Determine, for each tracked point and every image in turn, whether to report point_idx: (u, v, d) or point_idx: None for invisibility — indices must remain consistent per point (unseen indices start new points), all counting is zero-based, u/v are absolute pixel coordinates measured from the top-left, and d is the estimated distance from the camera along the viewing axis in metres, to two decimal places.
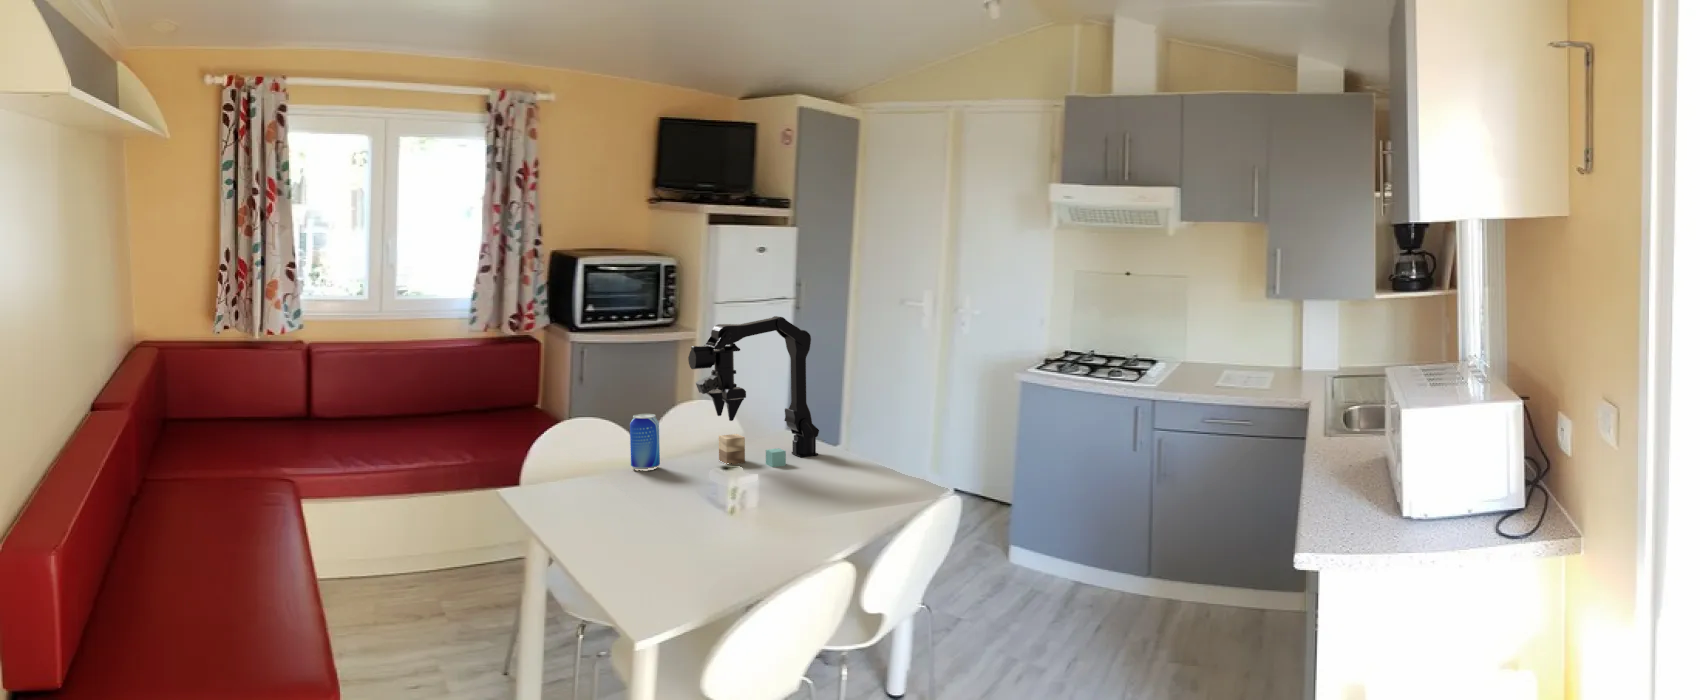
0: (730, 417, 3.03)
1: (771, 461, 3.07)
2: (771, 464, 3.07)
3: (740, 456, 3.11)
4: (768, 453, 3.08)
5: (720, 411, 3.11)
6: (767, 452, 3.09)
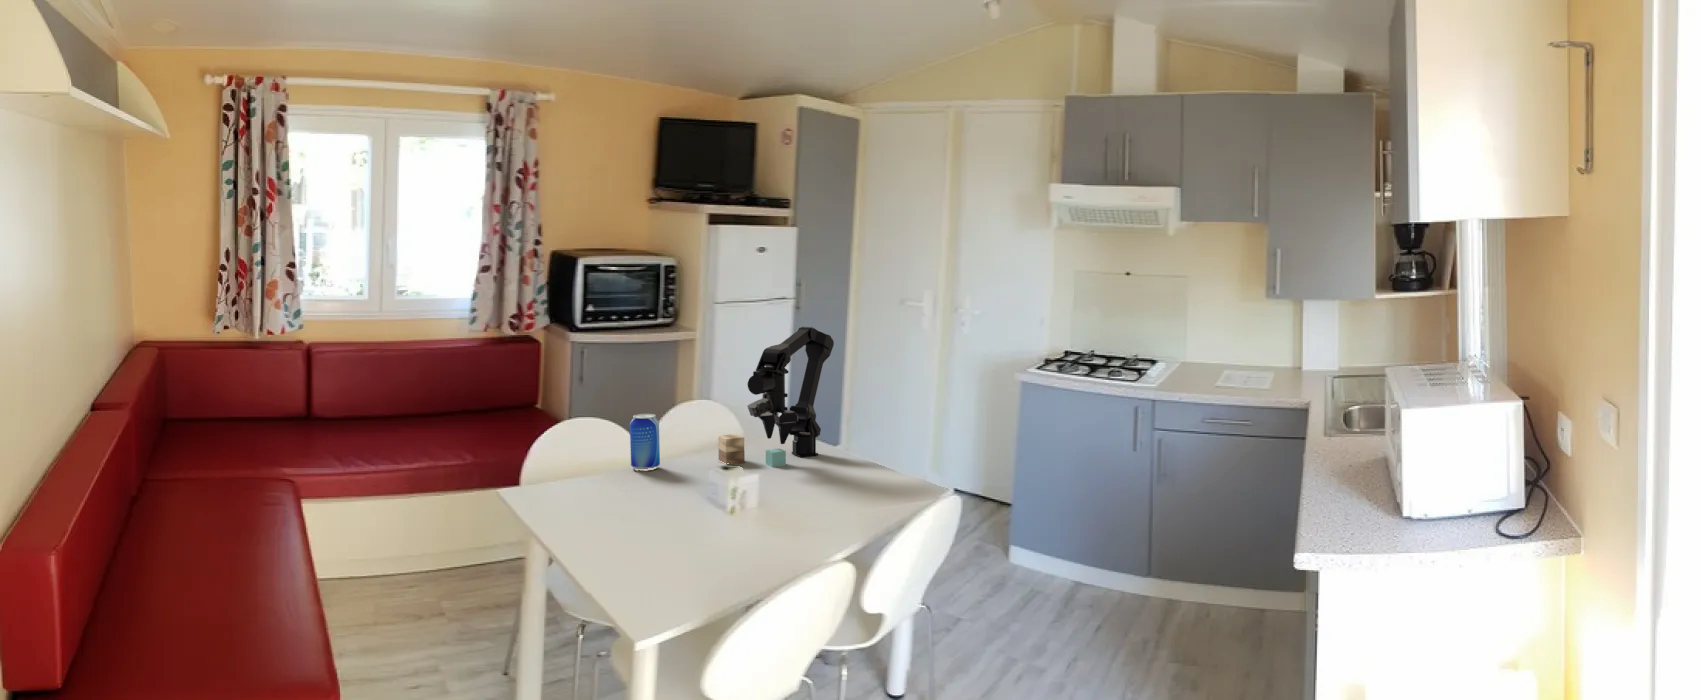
0: (782, 440, 3.04)
1: (771, 461, 3.07)
2: (771, 464, 3.07)
3: (740, 456, 3.11)
4: (768, 453, 3.08)
5: (770, 433, 3.12)
6: (767, 452, 3.09)
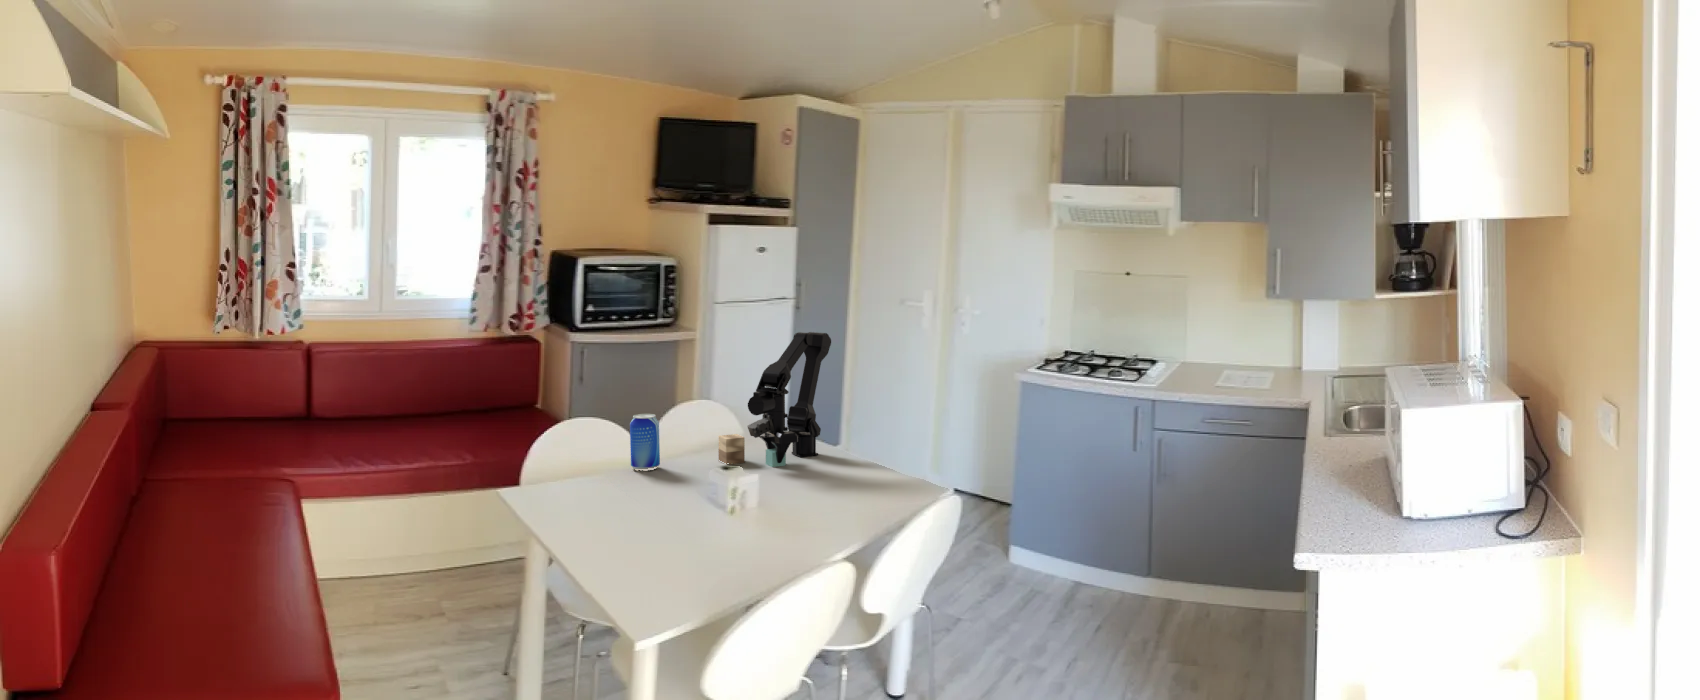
0: (778, 459, 3.06)
1: (771, 461, 3.07)
2: (771, 464, 3.07)
3: (740, 456, 3.11)
4: (768, 453, 3.08)
5: None
6: (767, 452, 3.09)
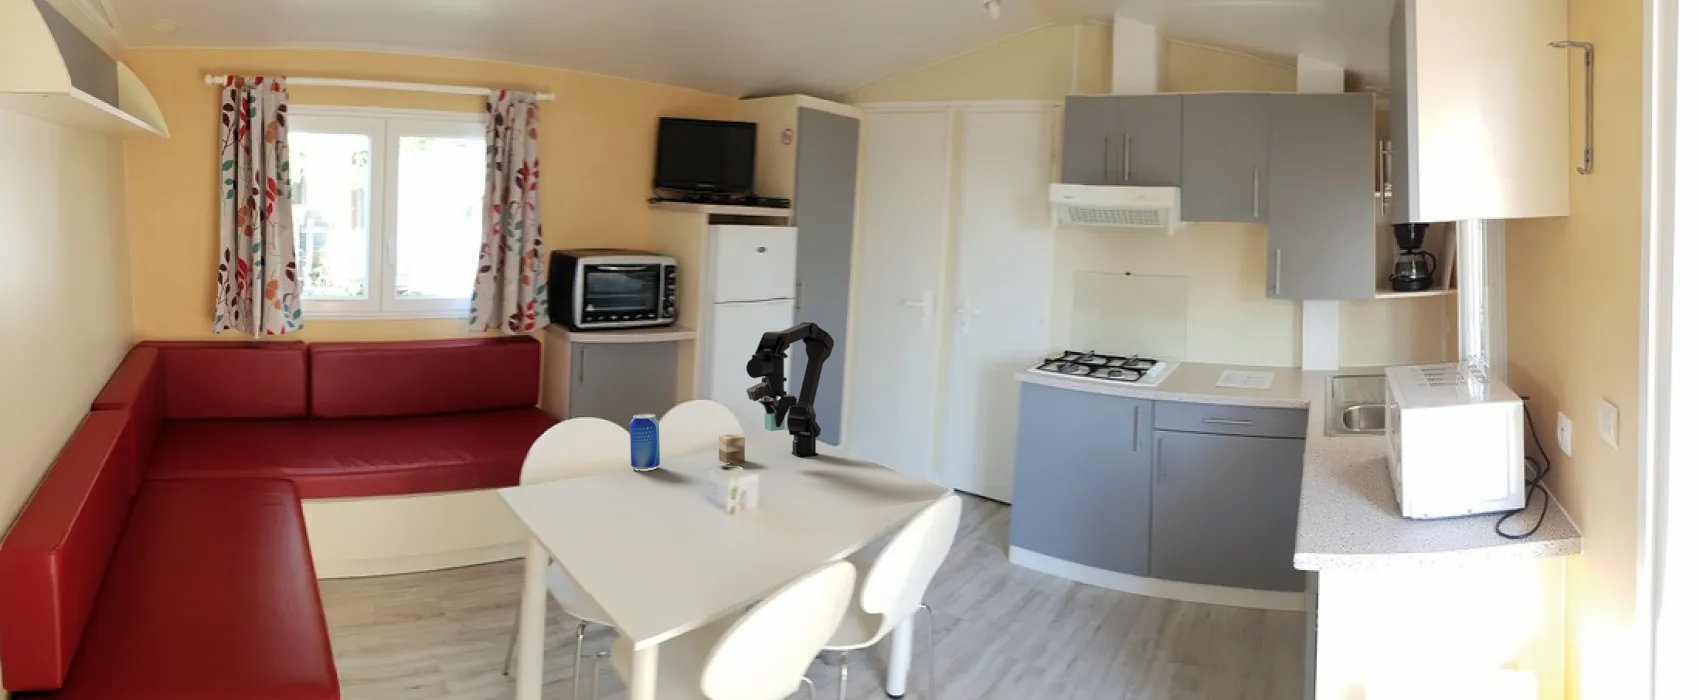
0: (777, 423, 3.05)
1: (770, 425, 3.05)
2: (770, 428, 3.05)
3: (740, 456, 3.11)
4: (767, 417, 3.07)
5: None
6: (766, 416, 3.07)
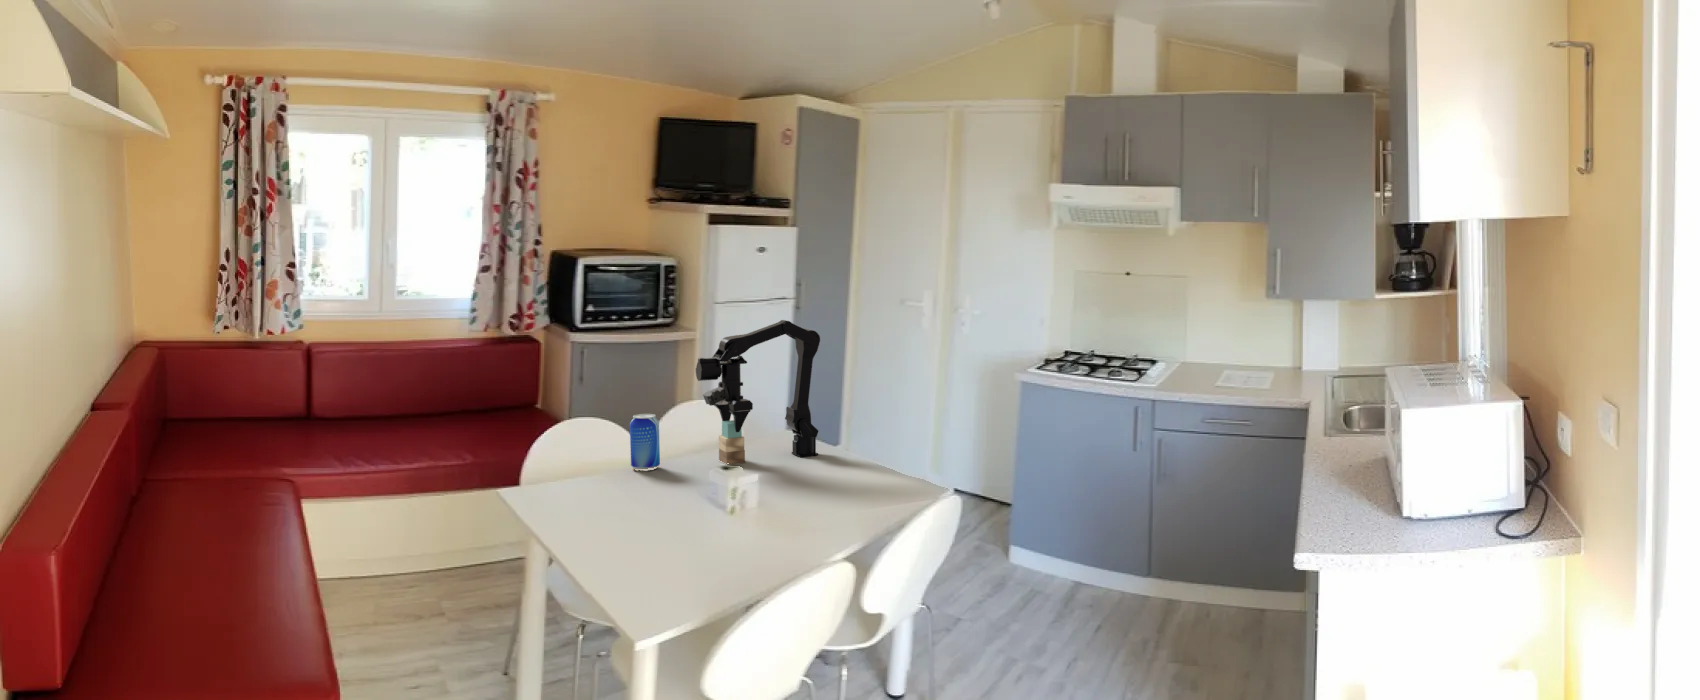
0: (736, 428, 3.07)
1: (727, 432, 3.09)
2: (727, 435, 3.09)
3: (740, 456, 3.11)
4: (724, 424, 3.11)
5: None
6: (723, 423, 3.11)
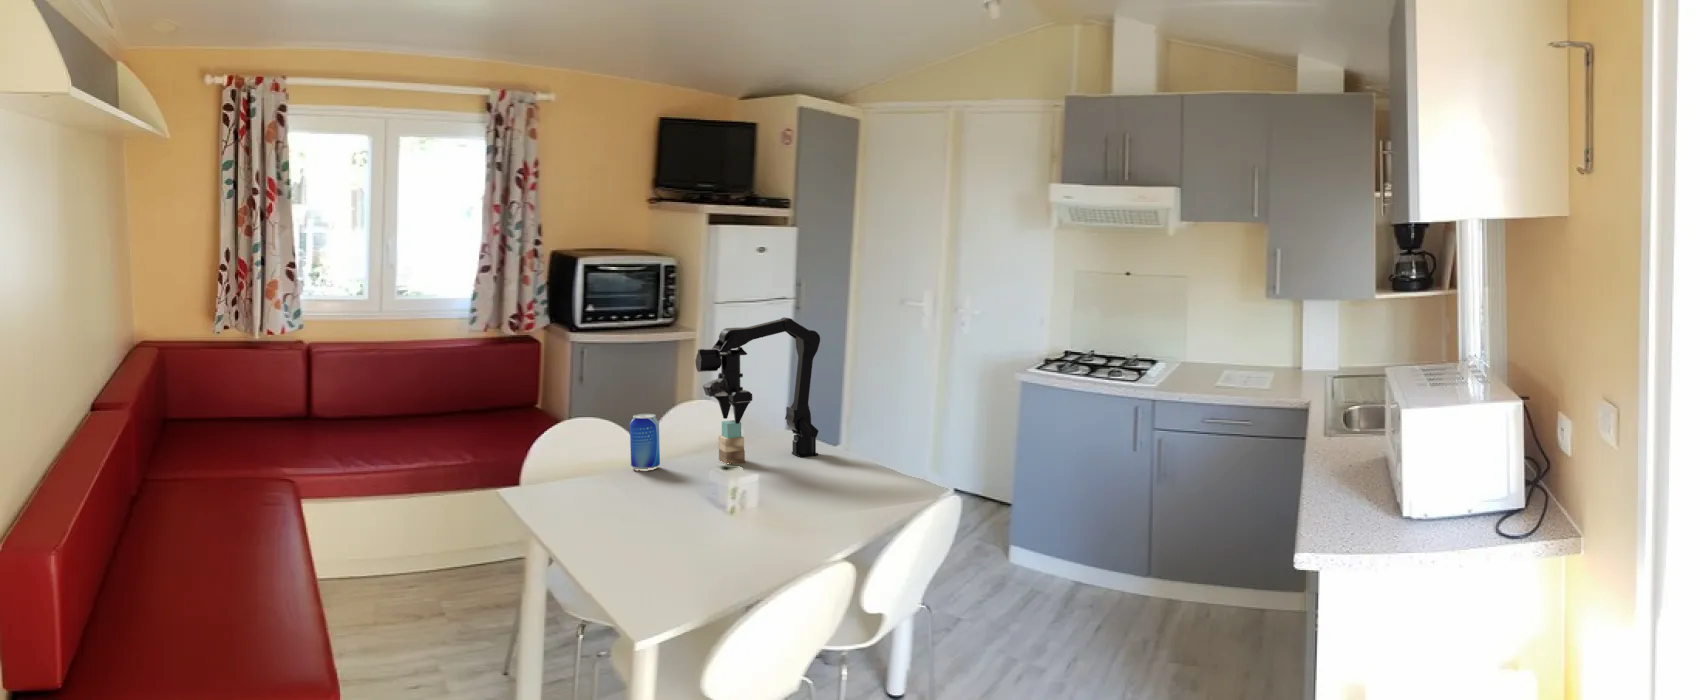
0: (736, 420, 3.07)
1: (726, 432, 3.09)
2: (726, 435, 3.10)
3: (740, 456, 3.11)
4: (724, 425, 3.11)
5: (726, 413, 3.15)
6: (723, 424, 3.11)
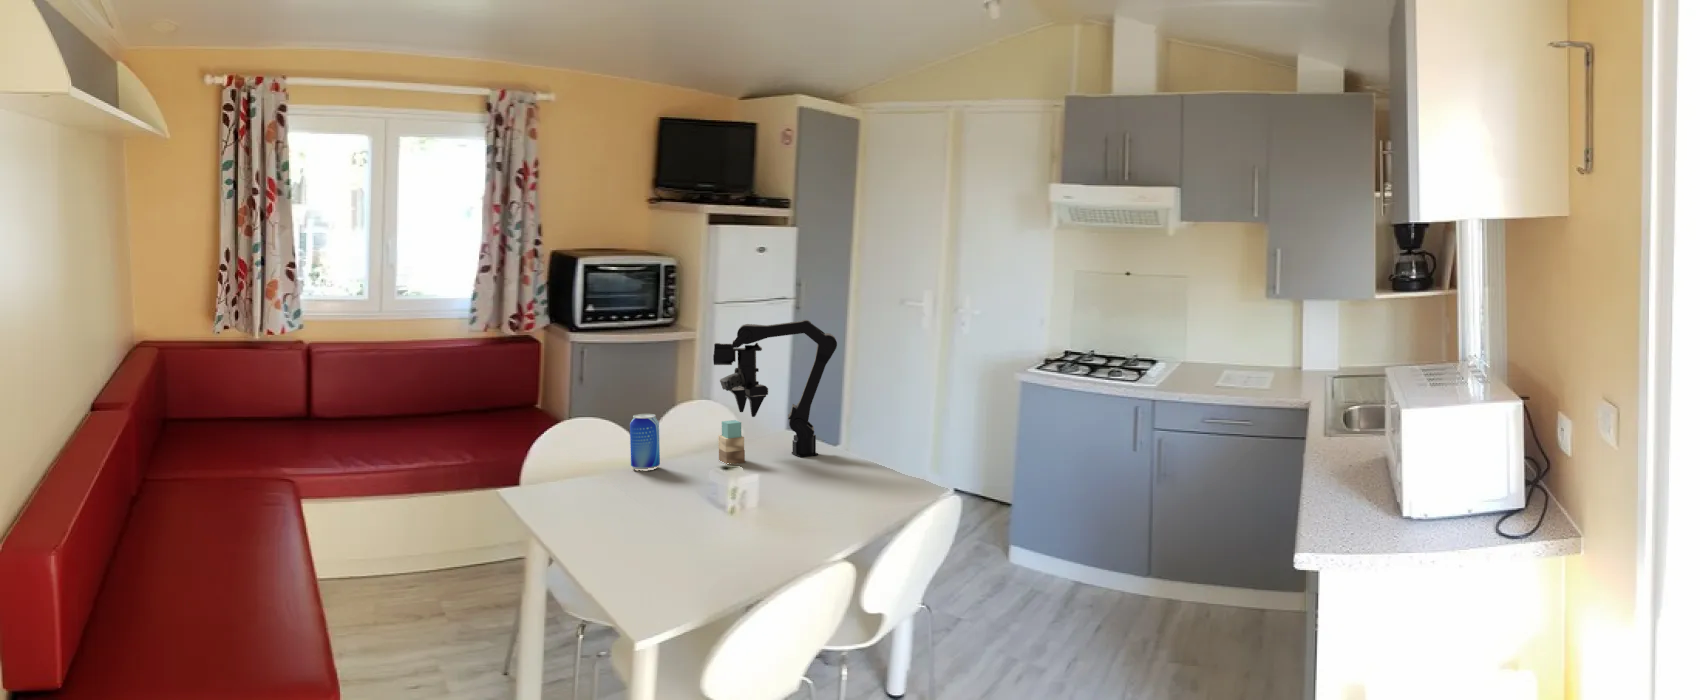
0: (752, 413, 3.16)
1: (727, 432, 3.09)
2: (727, 435, 3.10)
3: (740, 456, 3.11)
4: (724, 424, 3.11)
5: (743, 407, 3.24)
6: (723, 423, 3.11)
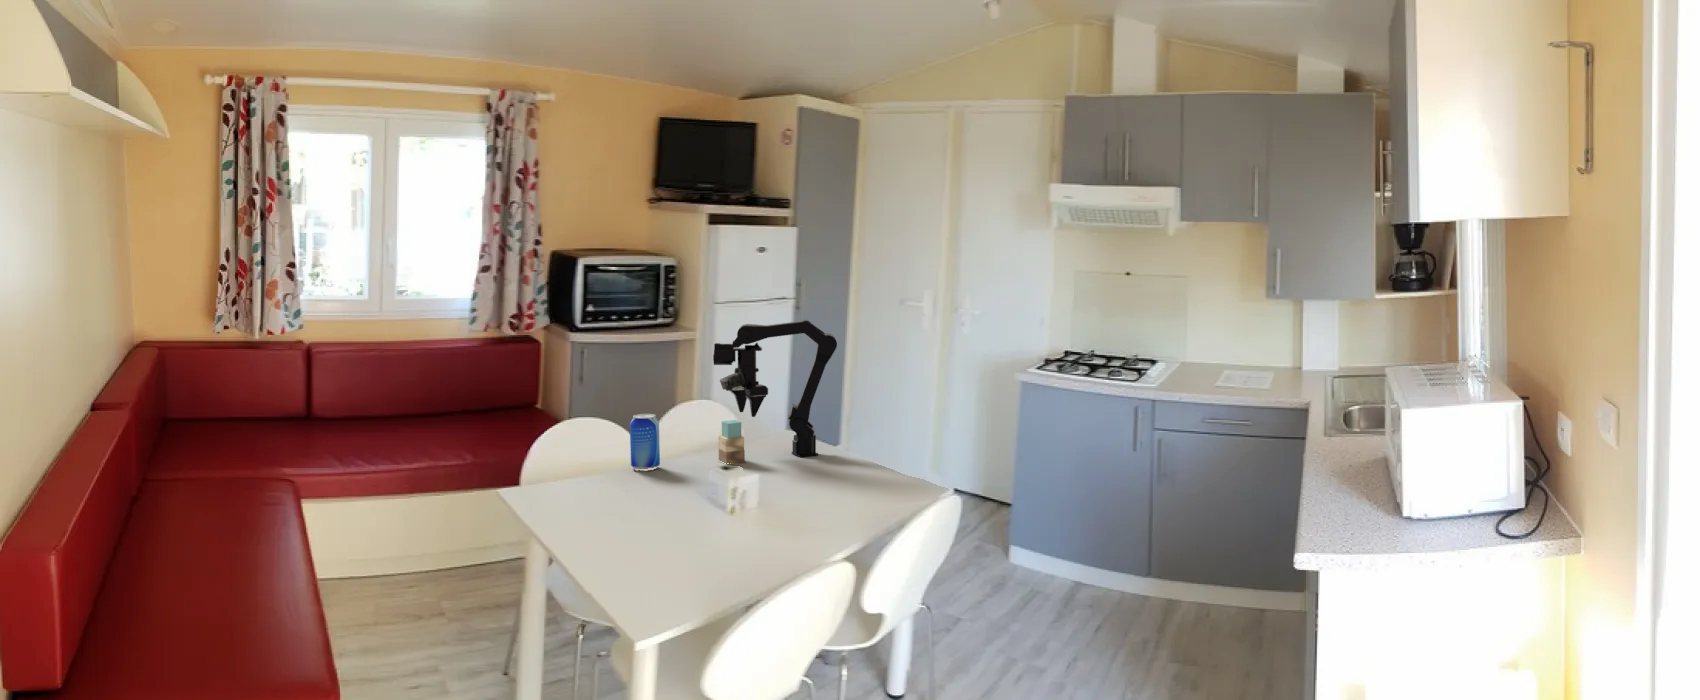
0: (752, 413, 3.16)
1: (727, 432, 3.09)
2: (727, 435, 3.10)
3: (740, 456, 3.11)
4: (724, 424, 3.11)
5: (743, 407, 3.24)
6: (723, 423, 3.11)
